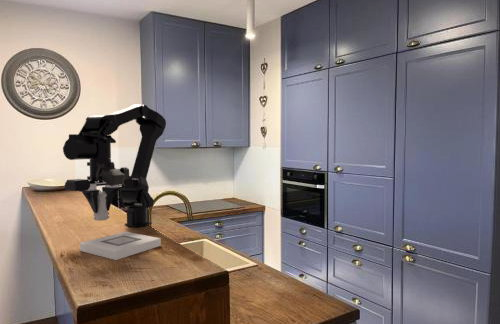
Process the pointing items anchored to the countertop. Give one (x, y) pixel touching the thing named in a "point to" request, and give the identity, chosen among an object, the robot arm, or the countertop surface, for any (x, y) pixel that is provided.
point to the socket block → (120, 245)
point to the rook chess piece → (101, 207)
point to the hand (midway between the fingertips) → (101, 212)
